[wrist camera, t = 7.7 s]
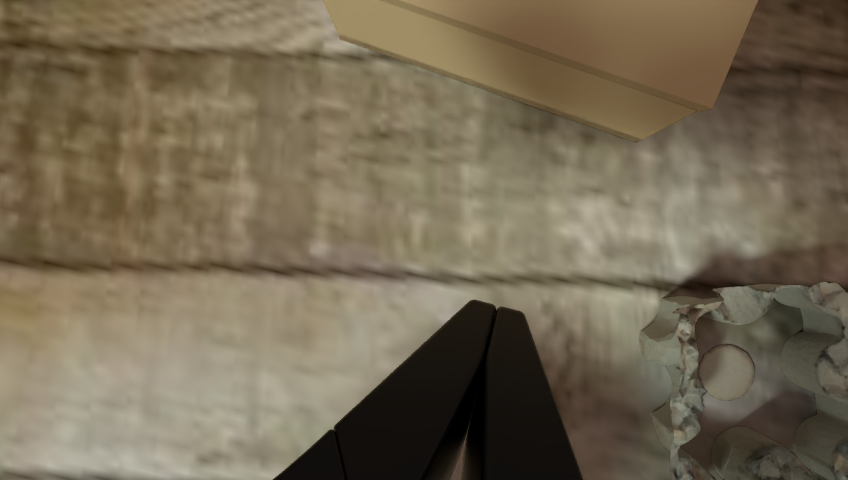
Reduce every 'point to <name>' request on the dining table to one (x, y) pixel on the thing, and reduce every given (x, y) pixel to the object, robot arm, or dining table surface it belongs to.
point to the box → (503, 69)
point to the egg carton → (733, 376)
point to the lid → (615, 38)
